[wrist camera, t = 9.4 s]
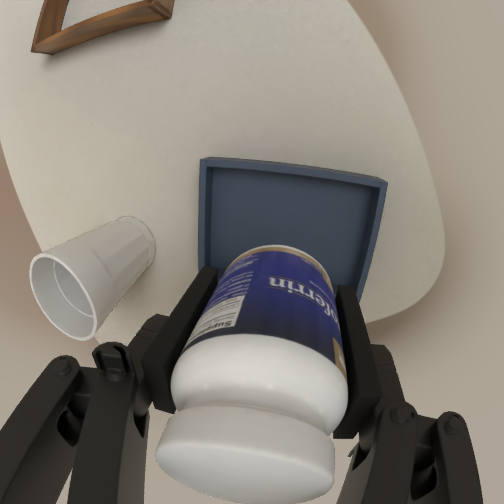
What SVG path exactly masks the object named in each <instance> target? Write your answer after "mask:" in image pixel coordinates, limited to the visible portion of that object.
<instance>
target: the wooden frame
mask: <svg viewBox="0 0 504 504" xmlns="http://www.w3.org/2000/svg"><path fill="white" fill-rule="evenodd" d="M68 1H69V0H44V3H43V6H42V9H41V12H40V16H39V19H38V23H37V27H36V30H35V34H34V39H33V43H32V48H31V52H34V53H42V54H50V55H53V54H55V53H57V52H60V51H62V50H64V49H67V48H69V47H71V46H74V45H76V44H79V43H81V42H84V41H87V40H90V39H92V38H95V37H98V36H101V35H104V34H107V33H111V32H114V31H117V30H121V29H124V28H128V27H132V26H136V25H140V24H144V23H148V22H153V21H158V20H163V19H169V18H171V16H172V10H173V4H174V0H144V1H140V2H136V3H133V4H129V5H126V6H123V7H120V8H116V9H113V10H111V11H108V12H105V13H102V14H99V15H97V16H94V17H92V18H89V19H87V20H84V21H82V22H80V23H77V24H75V25H73V26H71V27H68V28H66V29H64V30H62V31H61V26H62V22H63V18H64V15H65V11H66V8H67V4H68Z"/></svg>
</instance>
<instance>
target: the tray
mask: <svg viewBox="0 0 504 504" xmlns="http://www.w3.org/2000/svg"><path fill="white" fill-rule="evenodd" d="M387 185H388V182H386V181H384V180H382V179H380V178H378V177H373V176H368V175H363V174H357V173H352V172H346V171H340V170H333V169H327V168H320V167H313V166H306V165H298V164H290V163H281V162H272V161H261V160H250V159H237V158H222V157H207V158H203V159H200V174H199V215H198V269H199V272H200V270H201V269H202V268H203V266H205V267H212V268H218V283H219V281H220V280H221V278H222V276H223V274H224V273H225V271H226V270H227V268H228V267H229V266H230V264H231V263H232V262H233V261H234V260H235V259H236V258H237V257H239V256H240V255H241V254H243V253H245V252H247V251H249V250H251V249H254V248H257V247H261V246H266V245H285V246H289V247H293V248H296V249H298V250H301V251H303V252H305V253H307V254H308V255H310V256H311V257H313V258H314V259H315V260H316V261H318V262H319V263H320V265H321V266H322V267H323V268H324V270H325V271H326V273H327V275H328V277H329V279H330V282H331V285H332V288H333V293H334V298H335V297H336V293H337V289H338V285H346V286H354V289H355V292H356V296H357V299H358V302H360V299H361V296H362V293H363V289H364V286H365V282H366V279H367V275H368V271H369V268H370V264H371V260H372V256H373V252H374V248H375V244H376V240H377V235H378V231H379V227H380V222H381V217H382V212H383V207H384V202H385V197H386V191H387Z"/></svg>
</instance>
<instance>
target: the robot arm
mask: <svg viewBox="0 0 504 504" xmlns="http://www.w3.org/2000/svg"><path fill="white" fill-rule="evenodd" d="M217 285H218V268H212V267H205V266H203V268H202V269H201V270H200V272H199V273H198V275H197V276H196V278H195V279H194V281H193V282H192V283H191V285H190V286H189V288H188V289H187V291H186V292H185V294H184V295H183V297H182V298H181V300H180V301H179V303H178V304H177V306H176V307H175V309H174V310H173V312H172V313H171V314H170V316H164V315H160V314H156V315H154V316H152V317H151V318H149V319H148V320H147V321H146V322H145V323H144V325H143V326H142V327H141V330H139V331H138V333H137V334H136V336H135V337H134V338H133V339H132V341H131V342H130V343H129V345H128V346H127V347H126V346H125V345H123V344H122V343H118V342H106V343H103V344H101V345H99V346H98V347H96V348H95V349H94V351H93V352H92V356H93V358H94V361H95V363H96V366H97V368H90V367H80V365H79V363H78V361H77V360H76V359H75V358H73V357H72V356H68V355H64V356H59V357H57V358H55V359H54V360H52V361H51V362H50V363H49V364H48V366H47V367H46V368H45V370H44V371H43V372H42V373H41V375H40V376H39V377H38V379H37V380H36V381H35V382H34V384H33V385H32V386H31V388H30V389H29V390H28V392H27V393H26V394H25V396H24V397H23V399H22V400H21V401H20V403H19V404H18V406H17V407H16V408H15V410H14V411H13V413H12V414H11V416H10V417H9V419H8V420H7V422H6V423H5V425H4V426H3V427H2V429H1V430H0V504H56V502H57V500H58V498H59V495H60V493H61V491H62V489H63V487H64V484H65V482H66V480H67V478H68V476H69V474H70V472H71V470H72V468H73V470H72V475H71V481H70V487H69V494H68V501H67V504H144V481H145V463H146V450H147V439H148V428H149V419H150V416H149V410H148V408H149V406H150V404H151V402H152V401H153V404H154V407H155V409H158V410H161V411H165V412H168V413H171V414H174V413H175V411H176V406H175V404H174V401H173V398H172V393H171V377H172V373H173V370H174V367H175V365H176V363H177V361H178V358H179V356H180V354H181V352H182V350H183V349H184V347H185V345H186V343H187V341H188V339H189V337H190V335H191V334H192V332H193V330H194V328H195V326H196V324H197V322H198V320H199V318H200V317H201V315H202V313H203V311H204V309H205V307H206V305H207V303H208V302H209V300H210V298H211V296H212V294H213V292H214V291H215V289H216V287H217ZM335 303H336V309H337V314H338V321H339V327H340V333H341V338H342V346H343V353H344V359H345V367H346V375H347V384H348V404H347V408H346V412H345V414H344V417H343V418H342V420H341V422H340V424H339V425H338V426H337V428H336V429H335V430H334V431H333V438H334V439H353V438H354V437H355V436H356V434H357V433H358V432H359V442H358V443H357V444H356V446H355V447H354V448H353V449H352V450H351V452H350V453H349V455H348V457H351V456H352V455H353V456H352V460H351V463H350V466H349V469H348V472H347V475H346V478H345V481H344V484H343V487H342V490H341V492H340V496H339V498H338V501H337V503H336V504H483V498H482V491H481V485H480V479H479V474H478V469H477V464H476V460H475V455H474V451H473V447H472V443H471V439H470V435H469V432H468V428H467V425H466V423H465V420H464V419H463V417H462V416H461V415H459V414H458V413H455V412H450V411H448V412H445V413H443V414H442V415H441V416H440V417H439V418H438V419H434V418H430V417H425V416H421V415H418V414H417V412H416V410H415V408H414V407H413V406H412V405H410V404H409V403H407V402H405V399H404V395H403V392H402V388H401V385H400V381H399V378H398V375H397V373H396V368H395V365H394V361H393V358H392V355H391V353H390V352H389V350H388V349H387V348H386V347H385V346H384V345H375V344H370V340H369V337H368V333H367V329H366V326H365V322H364V319H363V315H362V312H361V309H360V305H359V302H358V299H357V296H356V292H355V289H354V286H346V285H338V289H337V293H336V297H335Z"/></svg>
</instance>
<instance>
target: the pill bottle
mask: <svg viewBox="0 0 504 504" xmlns="http://www.w3.org/2000/svg"><path fill="white" fill-rule="evenodd" d="M171 393H172V398H173V401H174V404H175V406H176V408H177V410H178V412H177V413H175V414H174V415H173V416H172V417H171V418H170V419H169V420H168V422H167V425H166V427H165V430H164V432H163V434H162V436H161V439H160V441H159V444H158V446H157V449H156V453H155V457H156V461H157V463H158V464H159V466H160V467H161V469H162V470H163V471H165V472H166V473H167V474H168V475H169V476H171V477H172V478H173V479H175V480H177V481H178V482H180V483H182V484H183V485H185V486H187V487H189V488H191V489H194V490H196V491H198V492H201V493H203V494H206V495H210V496H212V497H216V498H219V499H223V500H227V501H232V502H237V503H243V504H296V503H301V502H306V501H309V500H313V499H315V498H318V497H320V496H322V495H324V494H325V493H327V492H328V491H329V490H330V489H331V487H332V485H333V483H334V470H335V448H334V444H333V442H332V441H331V439H330V438H329V437H328V436H329V435H330V434H331V433H332V432H333V431H334V430H335V429H336V428H337V426H338V425H339V424H340V422H341V420H342V418H343V417H344V414H345V412H346V408H347V404H348V384H347V375H346V367H345V359H344V353H343V346H342V338H341V333H340V327H339V321H338V314H337V309H336V303H335V298H334V293H333V288H332V285H331V282H330V279H329V277H328V275H327V273H326V271H325V270H324V268H323V267H322V266H321V265H320V263H319V262H318V261H316V260H315V259H314V258H313V257H311V256H310V255H308V254H307V253H305V252H303V251H301V250H298V249H296V248H293V247H289V246H285V245H266V246H261V247H257V248H254V249H251V250H249V251H247V252H245V253H243V254H241V255H240V256H239V257H237V258H236V259H235V260H234V261H233V262H232V263H231V264H230V266H229V267H228V268H227V270H226V271H225V273H224V274H223V276H222V278H221V280H220V281H219V283H218V285H217V287H216V289H215V291H214V292H213V294H212V296H211V298H210V300H209V302H208V303H207V305H206V307H205V309H204V311H203V313H202V315H201V317H200V318H199V320H198V322H197V324H196V326H195V328H194V330H193V332H192V334H191V335H190V337H189V339H188V341H187V343H186V345H185V347H184V349H183V350H182V352H181V354H180V356H179V358H178V361H177V363H176V365H175V367H174V370H173V373H172V377H171Z"/></svg>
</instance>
